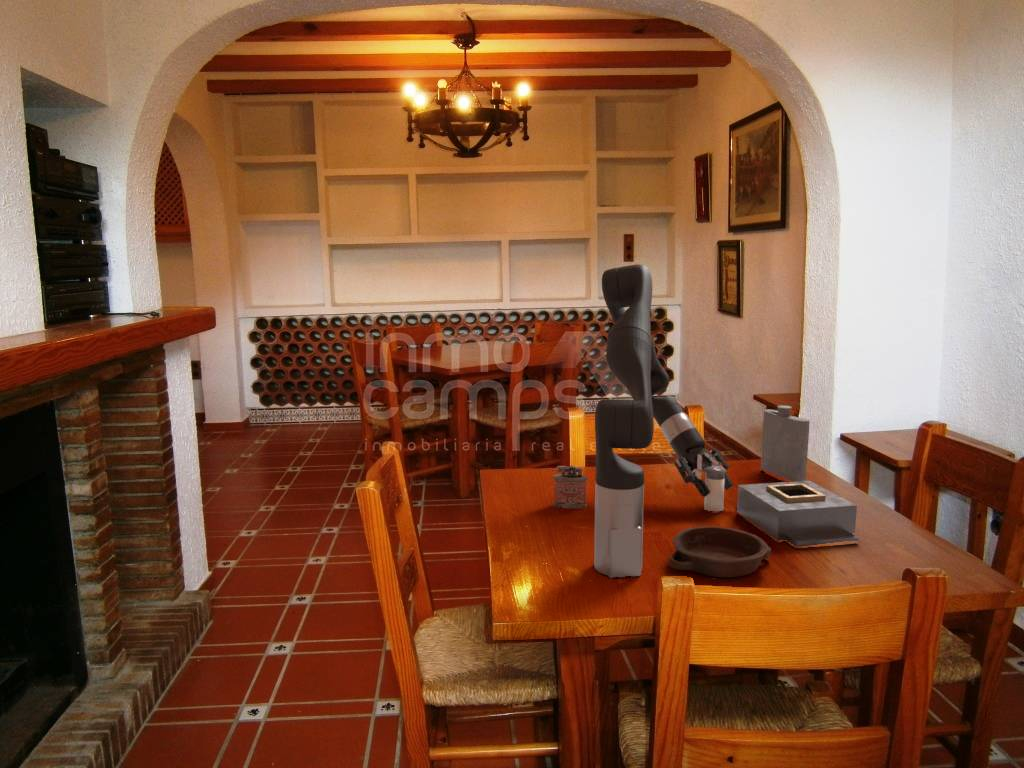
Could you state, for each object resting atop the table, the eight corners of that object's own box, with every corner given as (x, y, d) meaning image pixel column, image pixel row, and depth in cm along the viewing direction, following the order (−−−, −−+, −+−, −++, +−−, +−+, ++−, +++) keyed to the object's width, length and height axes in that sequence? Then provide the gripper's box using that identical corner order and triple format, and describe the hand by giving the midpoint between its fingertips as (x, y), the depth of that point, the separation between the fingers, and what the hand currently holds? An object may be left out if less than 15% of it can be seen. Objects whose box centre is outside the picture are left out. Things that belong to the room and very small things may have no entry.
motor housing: (866, 543, 154) (869, 507, 153) (787, 549, 151) (789, 512, 150) (798, 503, 180) (800, 471, 178) (729, 508, 177) (730, 475, 175)
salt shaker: (726, 511, 174) (728, 470, 172) (708, 512, 173) (710, 472, 172) (718, 505, 178) (719, 465, 177) (701, 506, 178) (702, 466, 176)
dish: (646, 556, 149) (647, 532, 148) (738, 542, 156) (739, 519, 155) (695, 592, 133) (696, 566, 132) (795, 575, 140) (796, 550, 139)
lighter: (586, 503, 180) (587, 464, 179) (586, 508, 177) (587, 468, 175) (553, 503, 181) (554, 463, 179) (553, 507, 178) (553, 467, 176)
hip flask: (808, 485, 194) (813, 411, 190) (795, 487, 192) (800, 412, 189) (767, 469, 208) (771, 400, 205) (755, 471, 207) (759, 401, 204)
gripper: (671, 431, 174) (709, 489, 167) (710, 422, 183) (747, 477, 176) (654, 448, 179) (689, 505, 172) (692, 439, 188) (727, 493, 181)
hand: (718, 491), depth 174 cm, fingers open, 8 cm apart
